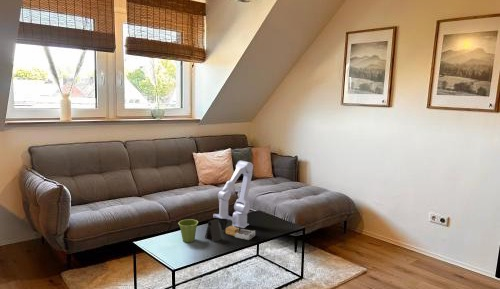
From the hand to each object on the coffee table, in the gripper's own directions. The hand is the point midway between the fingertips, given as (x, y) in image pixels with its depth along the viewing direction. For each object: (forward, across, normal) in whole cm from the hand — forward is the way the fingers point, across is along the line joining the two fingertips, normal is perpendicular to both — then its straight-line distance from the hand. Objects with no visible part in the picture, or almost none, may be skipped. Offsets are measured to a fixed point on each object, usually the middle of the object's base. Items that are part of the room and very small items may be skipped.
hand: (223, 229), depth 236 cm
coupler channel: (+2, +16, 0) cm, 16 cm away
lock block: (+2, +6, 0) cm, 7 cm away
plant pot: (+2, -12, -22) cm, 25 cm away
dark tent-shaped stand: (+2, 0, -13) cm, 13 cm away
